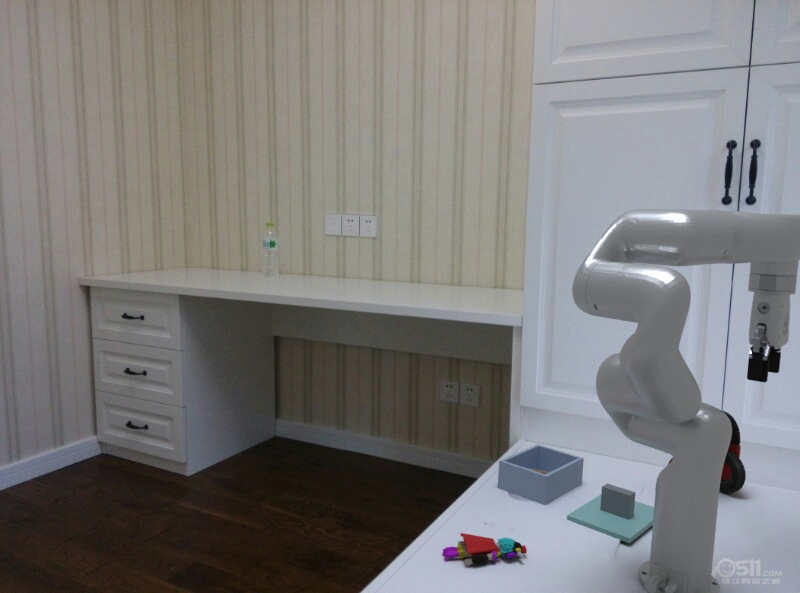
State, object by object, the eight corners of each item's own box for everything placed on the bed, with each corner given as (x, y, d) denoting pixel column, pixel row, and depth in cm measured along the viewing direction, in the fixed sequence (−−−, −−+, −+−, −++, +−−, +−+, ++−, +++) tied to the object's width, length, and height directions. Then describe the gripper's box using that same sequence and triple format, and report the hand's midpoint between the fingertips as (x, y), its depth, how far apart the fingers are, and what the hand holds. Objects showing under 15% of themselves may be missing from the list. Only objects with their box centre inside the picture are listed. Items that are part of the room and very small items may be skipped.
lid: (629, 548, 122) (631, 512, 121) (566, 524, 131) (568, 491, 130) (664, 519, 134) (667, 487, 133) (605, 500, 143) (607, 469, 142)
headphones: (713, 481, 155) (720, 399, 152) (750, 498, 146) (759, 411, 143) (657, 492, 147) (664, 406, 145) (693, 510, 138) (701, 419, 136)
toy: (446, 570, 112) (531, 568, 114) (447, 549, 112) (532, 547, 113) (439, 548, 120) (519, 546, 121) (440, 527, 119) (520, 526, 121)
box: (544, 508, 137) (546, 476, 136) (497, 491, 145) (499, 460, 144) (581, 487, 148) (583, 458, 148) (536, 472, 157) (537, 444, 156)
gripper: (785, 289, 109) (775, 388, 112) (804, 283, 122) (795, 371, 125) (736, 285, 114) (728, 380, 116) (760, 279, 127) (752, 365, 129)
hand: (763, 376), depth 120 cm, fingers open, 9 cm apart
